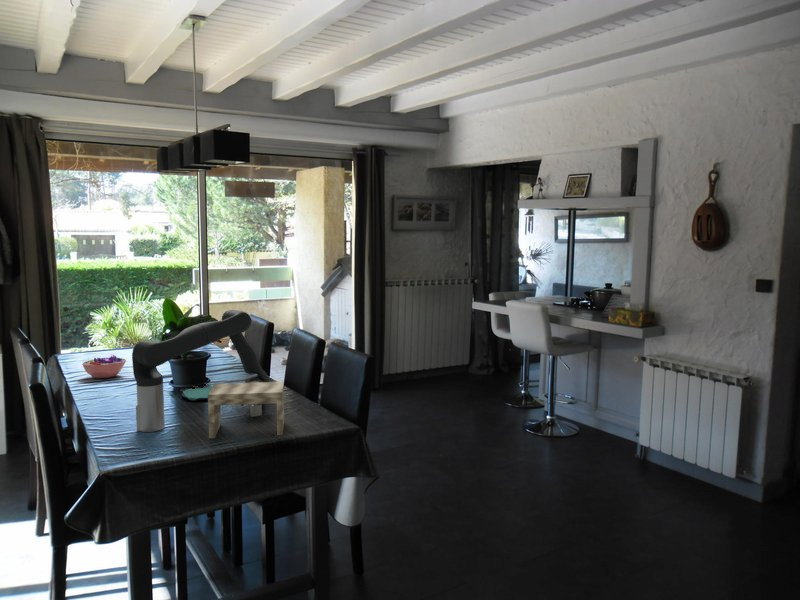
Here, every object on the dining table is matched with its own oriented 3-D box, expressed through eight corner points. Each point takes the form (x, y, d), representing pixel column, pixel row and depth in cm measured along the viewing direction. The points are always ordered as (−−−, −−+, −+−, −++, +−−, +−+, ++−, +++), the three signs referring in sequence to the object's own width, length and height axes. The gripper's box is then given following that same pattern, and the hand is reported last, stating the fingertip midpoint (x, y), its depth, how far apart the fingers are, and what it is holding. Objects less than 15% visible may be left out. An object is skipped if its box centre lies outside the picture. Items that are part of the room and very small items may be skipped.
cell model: (83, 375, 314) (82, 353, 313) (126, 371, 322) (125, 350, 321) (82, 382, 299) (81, 360, 297) (127, 379, 307) (126, 356, 306)
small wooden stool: (209, 438, 220) (207, 394, 219) (215, 424, 236) (214, 383, 234) (282, 434, 224) (282, 392, 223) (284, 421, 240) (283, 381, 238)
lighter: (259, 413, 248) (259, 394, 247) (261, 415, 246) (261, 395, 245) (243, 417, 243) (243, 397, 242) (245, 418, 242) (244, 398, 241)
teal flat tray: (187, 405, 263) (187, 399, 263) (173, 389, 289) (173, 384, 289) (233, 399, 274) (233, 393, 273) (215, 384, 299) (215, 379, 299)
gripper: (236, 383, 257) (231, 394, 240) (271, 382, 259) (269, 393, 242) (236, 400, 258) (232, 412, 241) (271, 399, 260) (269, 411, 243)
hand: (250, 403), depth 242 cm, fingers closed on lighter, 6 cm apart
